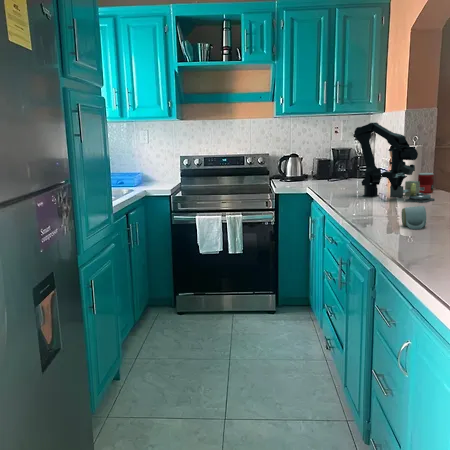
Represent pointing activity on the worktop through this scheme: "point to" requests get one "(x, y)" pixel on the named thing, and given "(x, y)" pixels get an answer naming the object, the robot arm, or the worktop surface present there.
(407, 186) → the grey-green hollow piece
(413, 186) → the handwheel
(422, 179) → the canned food
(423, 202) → the wheel base
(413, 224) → the ceramic mug
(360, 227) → the worktop surface
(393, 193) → the block-headed metal hammer
